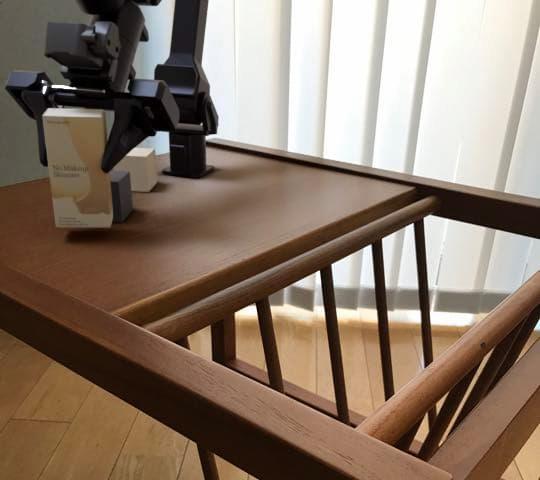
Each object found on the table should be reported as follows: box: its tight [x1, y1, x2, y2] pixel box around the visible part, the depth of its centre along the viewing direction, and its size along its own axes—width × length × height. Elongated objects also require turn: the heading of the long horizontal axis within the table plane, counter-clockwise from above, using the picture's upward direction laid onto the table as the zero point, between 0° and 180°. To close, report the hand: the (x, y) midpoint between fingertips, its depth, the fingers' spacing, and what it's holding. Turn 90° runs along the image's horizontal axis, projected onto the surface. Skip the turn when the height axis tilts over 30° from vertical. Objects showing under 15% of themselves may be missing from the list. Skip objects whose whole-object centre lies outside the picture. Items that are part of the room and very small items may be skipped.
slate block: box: [110, 170, 134, 223], centre depth 79 cm, size 5×5×5 cm
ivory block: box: [112, 147, 158, 193], centre depth 91 cm, size 5×5×5 cm
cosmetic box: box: [42, 108, 113, 229], centre depth 70 cm, size 6×4×12 cm
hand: (73, 167), depth 68 cm, fingers closed on cosmetic box, 7 cm apart
